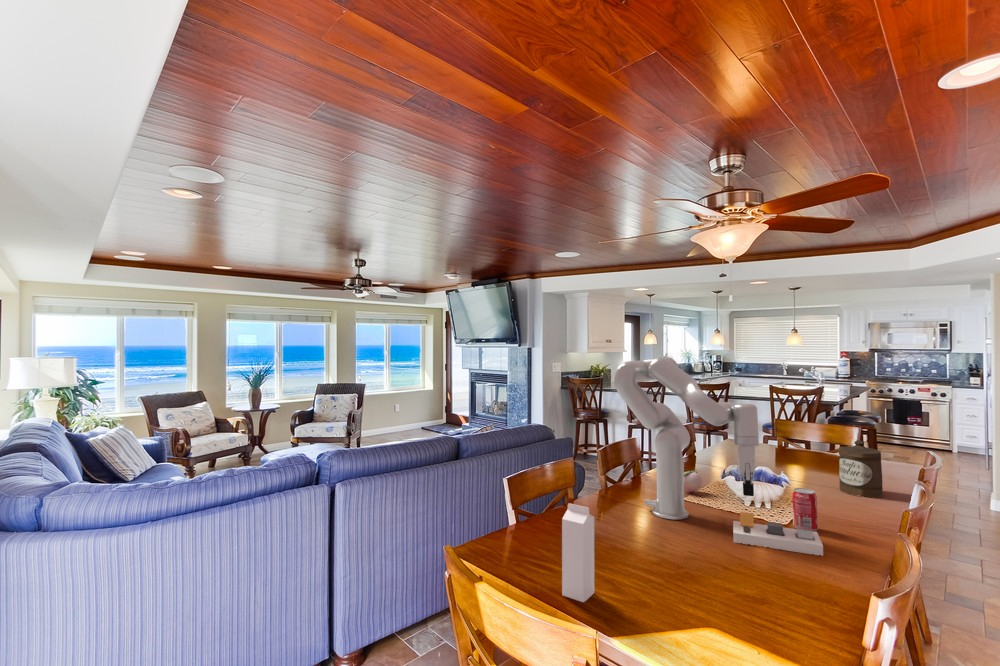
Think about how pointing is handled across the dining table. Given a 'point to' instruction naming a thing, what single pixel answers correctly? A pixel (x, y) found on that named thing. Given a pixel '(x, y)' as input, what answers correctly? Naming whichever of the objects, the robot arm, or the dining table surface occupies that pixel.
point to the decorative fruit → (692, 481)
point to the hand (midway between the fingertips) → (748, 495)
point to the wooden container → (860, 470)
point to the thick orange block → (747, 520)
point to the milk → (577, 553)
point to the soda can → (805, 508)
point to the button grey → (804, 532)
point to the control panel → (776, 539)
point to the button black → (775, 528)
